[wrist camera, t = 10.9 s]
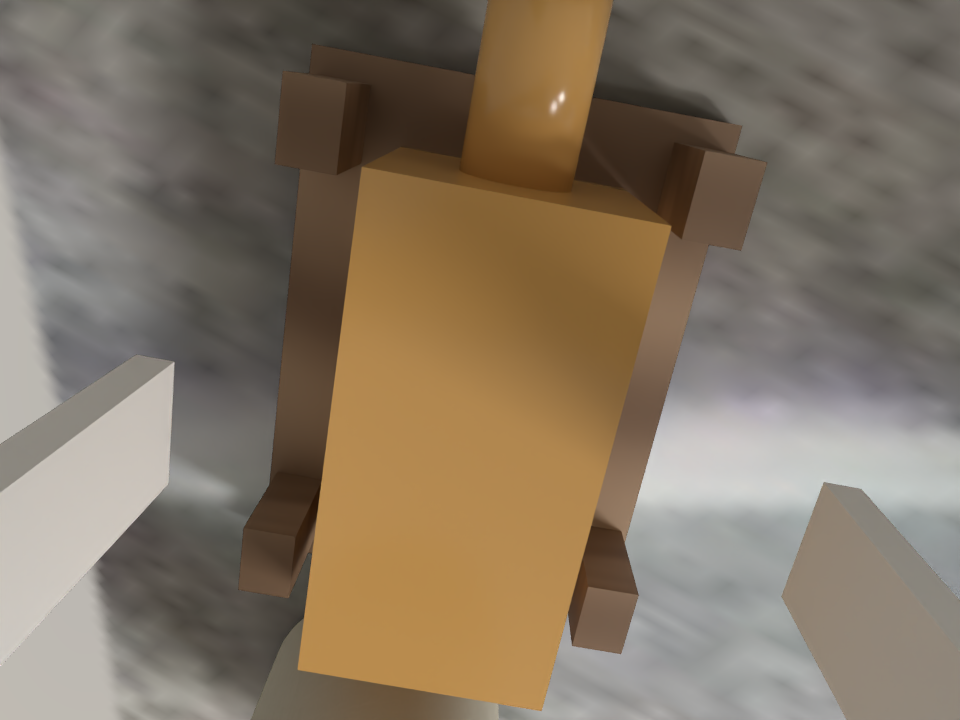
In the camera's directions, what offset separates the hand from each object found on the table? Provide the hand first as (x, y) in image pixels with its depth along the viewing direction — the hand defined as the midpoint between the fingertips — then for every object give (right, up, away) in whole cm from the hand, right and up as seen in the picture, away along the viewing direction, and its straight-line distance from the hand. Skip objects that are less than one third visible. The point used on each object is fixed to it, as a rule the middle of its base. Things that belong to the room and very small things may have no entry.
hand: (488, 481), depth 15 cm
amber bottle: (0, +5, +6) cm, 8 cm away
